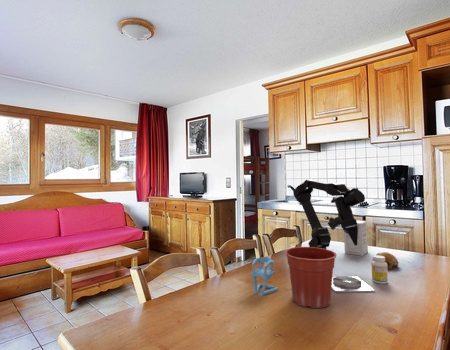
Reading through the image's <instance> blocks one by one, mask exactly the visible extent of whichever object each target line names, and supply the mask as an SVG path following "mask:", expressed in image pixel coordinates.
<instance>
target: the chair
mask: <svg viewBox="0 0 450 350" xmlns="http://www.w3.org/2000/svg"><path fill="white" fill-rule="evenodd" d="M257 263H258V264H259V268H257V269H256V267H255V265H256V264H257ZM262 263H265V265H264V266H262ZM274 263H275V261H274V260H273V259H271V258H269V257H267V256H261V257H258V258H255V259H253V261H252V263H251V266H252V272H250V276H252V282H253V283H252V284H253V294H254V295H257V294H258V293H259V291H260V289H261V291H260V293H259V296H260V297H263V296H265V295H268V294H271V293H274V292H277V291H278V290H279V287H277V286H273V285H269V284H268V283H269V280H270V279H271V277H272V276H273V275H274V274H276V271H275V270H274V269H273V267H274ZM269 266H270V268H269V269H268V267H269ZM262 267H263V268H262ZM257 277H259V278H262V279H264V283H262V282H261V283H257ZM261 287H262V288H261ZM265 289H267V290H265Z"/></svg>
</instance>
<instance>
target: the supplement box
mask: <svg viewBox="0 0 450 350" xmlns="http://www.w3.org/2000/svg"><path fill="white" fill-rule="evenodd" d="M355 220H356V221H357V224H358V225H357V226H358V241H357V245H354V243H353V241H352V239H351V238H350V236H349V234H347V233H345V232H344V231H343V238H344V241H343V242H344V253H345V254H347V255H356V256H362V257H364V256H365V255H366V254H367V253H368V252H369V247H368V230H367V229H368V228H367V227H368V226H367V223H368V222H367V220H357V219H355Z"/></svg>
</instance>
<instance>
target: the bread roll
mask: <svg viewBox="0 0 450 350" xmlns="http://www.w3.org/2000/svg"><path fill="white" fill-rule="evenodd" d="M376 255H379V256H384V257H385V261H384V262H386V263H387V270H396V269H397V268H398V267H399V261H398V258H396V256H395V255H393V254H392V253H389V252H385V251H383V252H378V253H376ZM373 261H374V259H373V258H372V262H373Z"/></svg>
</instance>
